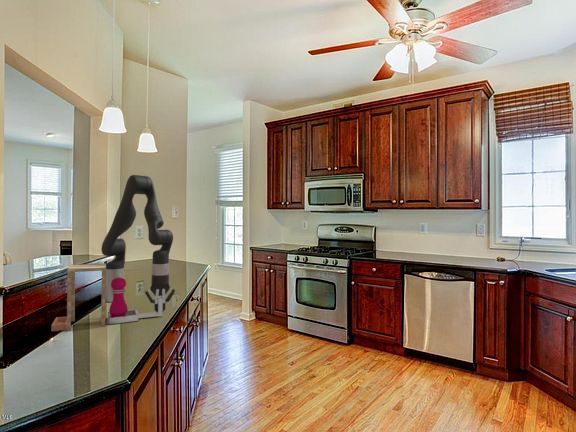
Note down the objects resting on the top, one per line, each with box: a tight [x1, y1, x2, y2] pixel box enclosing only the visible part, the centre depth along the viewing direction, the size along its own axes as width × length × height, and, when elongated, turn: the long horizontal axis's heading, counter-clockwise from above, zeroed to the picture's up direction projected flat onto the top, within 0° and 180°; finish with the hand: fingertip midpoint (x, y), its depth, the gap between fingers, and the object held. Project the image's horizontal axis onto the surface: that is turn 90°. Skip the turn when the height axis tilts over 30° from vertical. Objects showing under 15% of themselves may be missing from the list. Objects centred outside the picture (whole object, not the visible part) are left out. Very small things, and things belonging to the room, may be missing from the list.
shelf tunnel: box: [66, 262, 107, 332], centre depth 150 cm, size 15×13×24 cm
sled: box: [106, 296, 163, 325], centre depth 158 cm, size 11×22×8 cm, turn 116°
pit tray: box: [50, 316, 67, 332], centre depth 146 cm, size 12×5×2 cm, turn 26°
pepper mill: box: [108, 274, 128, 318], centre depth 155 cm, size 7×7×20 cm
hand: (159, 311), depth 163 cm, fingers closed on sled, 2 cm apart
